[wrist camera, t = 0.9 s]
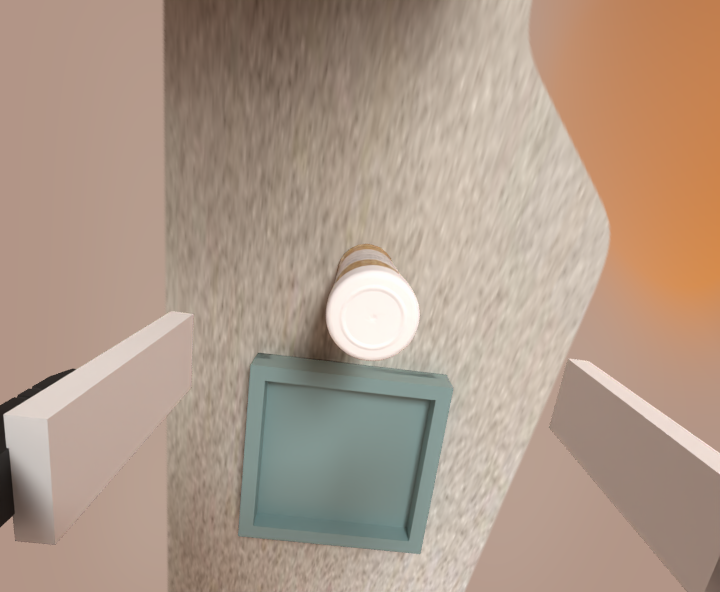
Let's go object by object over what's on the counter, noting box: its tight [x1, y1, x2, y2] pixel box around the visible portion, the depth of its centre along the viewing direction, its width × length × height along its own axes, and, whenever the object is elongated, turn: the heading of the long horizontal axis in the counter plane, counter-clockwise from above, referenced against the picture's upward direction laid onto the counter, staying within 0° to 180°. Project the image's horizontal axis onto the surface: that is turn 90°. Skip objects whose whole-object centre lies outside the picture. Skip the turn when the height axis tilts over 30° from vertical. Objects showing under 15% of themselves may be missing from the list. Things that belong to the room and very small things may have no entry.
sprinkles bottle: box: [326, 244, 420, 361], centre depth 25 cm, size 5×5×14 cm
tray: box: [238, 353, 453, 554], centre depth 34 cm, size 16×16×2 cm
